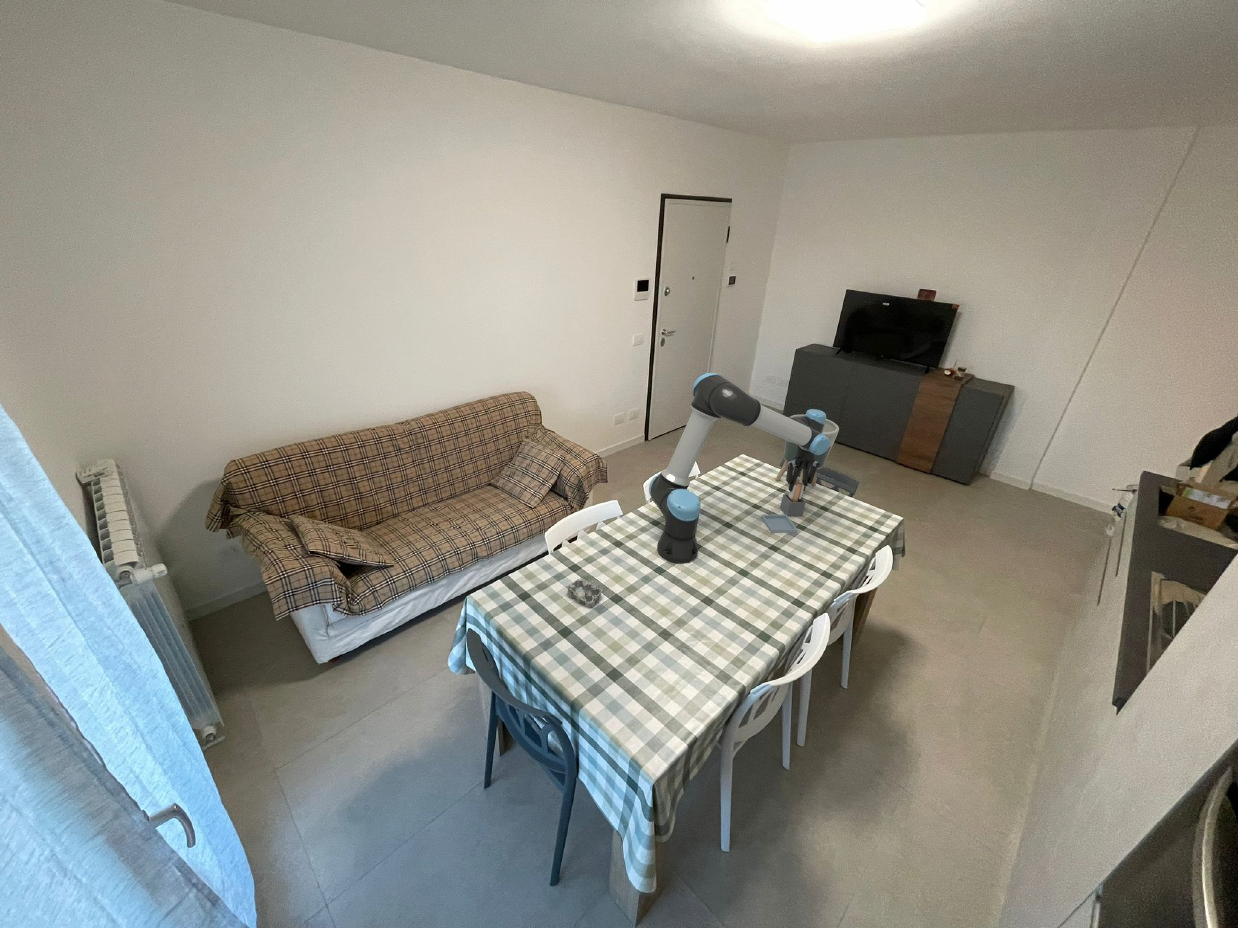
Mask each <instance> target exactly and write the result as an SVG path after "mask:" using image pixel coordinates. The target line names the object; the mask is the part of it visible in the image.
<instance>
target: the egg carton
mask: <svg viewBox="0 0 1238 928" xmlns="http://www.w3.org/2000/svg"><path fill="white" fill-rule="evenodd" d="M579 587H582V591H584V593H583V592H582V591H577V592H576V588H579ZM565 588H567V596H568V598H569V599H576V602H577V603H584V604H585V605H584V606H585V608H590V607H591V608H594V607H595V605H596V602H599V601H601V600H602V593H603V590H604V589H603V588H601V587H598V586H596V585H595V584H593V583H591V582H589V581H588V580H586V579H585V578H582V577H581V578H577V579H576V580H575V581H574V582H572V583H571V585H570V584H569V585H568V586H567V585H566V587H565Z"/></svg>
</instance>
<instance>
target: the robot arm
mask: <svg viewBox="0 0 1238 928" xmlns="http://www.w3.org/2000/svg"><path fill="white" fill-rule="evenodd" d="M691 390H692V391H691V392H692V395H693V399H692V401H691V404H690V408H691V410H692V411H691V414H690V416H689V418H688V421H687V423H686V425H685V427H684V430H683V431H682V432H683V433H682V435H681V436H680V439H679V440H678V443H677V445H676V447H675V450H674V451H673V454H672V457H671V459H670V461H669V464H668V465H667V468H665V469H662V470H661V471H660V472H659V473H658V474H657V475H655V476H653V478H652V479H651V480H650V482H649V485H648V493H649V496H650V498H651V500H652V501H653V503H654V504H655V505H656V507H657V508H658V509H659V511H660V512H661V514H662V515H663V516H664V518H665V519H664V526H663V527H664V529H663V531H662V534H661V536H660V537H659V539H658V541H657V547H656V551H657V553H658V555H659V556H660V557H661V558H663V559H664V560H666V561H668V562H670V563H674V564H687V563H690V562H691V563H692V562H693V561H695V560H696V558H697V557H698V554H699V545H698V540H697V536H696V535H697V530H698V525H699V518H700V513H701V501H700V498H699V496H698V495H697V494H696V493H695V492H693V491H690V490H689V489H688V488H689V487H690V480H689V477H690V474H691V472H692V470H693V468H694V466H695V464H696V461H697V459H698V457H699V455H700V453H701V451H702V449H703V447H704V445H705V443H706V440H707V438H708V436H709V434H710V432H711V430H712V428H713V426H714V423H715V422H716V421H718V420H720V419H721V418H722V419H725V420H727V421H731V422H733V423H736V424H739V425H742V426H744V427H751V426H752V427H754V428H757V429H758V430H761V431H764V432H766V433H769V434H770V435H773V436H774V437H777V438H780V439H782V440H787V441H789V442H792V443H794V444H796V445H799V446H798V448H797V452H796V457H795V458H794V460H792V461H787V463H788V469H787V470H786V471H787V472H786V477H785V482H787V484H788V494H789V495H788V496H789V497H790V498H791V499H793V496H794V492H795V488H796V485H795V483H796V482H797V479H798V478H799V475H800V474H801V470H802V469H803V477H802V482H801V484H802V486H801V490H800V494H799V497H798V498H799V499H801V497H802V498H803V494H804V492H805V491H806V488H807V487H808V486H809V485H811V483H812V481H813V478H814V475H815V473H816V474H817V470H818V469H817V468H818V467H819V465H820V463H819V462H818V461H815V457H816V455H821V454H823V453H825V452H826V451H827V449H828V448H829V445H830V441H829V439H828V438H827V437H826V436H825V435H824V434H822V432H823V428H824V425H825V420H826V419H827V414H826V413H825V411H822V410H820V409H816V408H815V409H814V408H810V409H808V410H806V413H805V415H806V416H802V417H791V416H786V415H784V414H781V413H779V412H777V411H775V410H773V409H770V408H768V407H766V406H764V405H762V403H761V401H759V400H758V399H757V398H754V397H752V396H751V395H749V394H748V393H747V392H745V391H744V390H743V389H741V388H740V387H739V386H738V385H736V384H735V383H733V382H732V381H730V380H728V379H727V378H725V377H724V376H722V375H721V374H718V373H715V372H706V373H704V374H702V375H700V376H699V377H698V378H697V379H696V380H695V381H694V383H693V386H692V389H691ZM794 463H795V464H796V465H795V466H794ZM811 465H812V466H811ZM810 466H811V469H810ZM802 493H803V494H802Z"/></svg>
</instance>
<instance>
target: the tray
mask: <svg viewBox="0 0 1238 928" xmlns="http://www.w3.org/2000/svg"><path fill="white" fill-rule="evenodd" d="M760 519H761V521H762V522H763V523H764V525H765V527H766V528H767V530H768V531H769V533H770V534H791V533H793V534H795V533H798V531H799V529H798V528H797V526H796V525H795V524H794V523H793V521H792V519H790V517H788V516H787V515H785V514H761V516H760Z"/></svg>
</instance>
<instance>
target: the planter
mask: <svg viewBox="0 0 1238 928" xmlns="http://www.w3.org/2000/svg"><path fill="white" fill-rule="evenodd" d="M802 416H806V414H793V415H791V416H790V417H802ZM839 431H840V428H839V425H838V424H837V423H835V422H834V421H832V420H830V419H828V418H826V420H825V425H824V428H823V432H822V434H824V435H825V436H826V437H827V438H828V439H829V441H830V445H829V448H828V449H827V451H826V452H825V453H823V454H821V455H816V457H815V461H818V462H819V463H820V465H819V467H818V468H817V470H819V469H822V468H823V467H824V466H825V464H826V462H827V460H828V457H829V454H830V452H831V450H832V448H833V445H834V444H835V440H836V439H837V436H838V433H839ZM798 446H799V445H796V444H794V443H792V442H789V441H787V440H785V441H784V451H783V459H784V463H783V465H782V467H780V470H779V472H778V473H777V475H776V477H775V479H774V480H775V481H777V482H779V481H780V480H781V478H782V477H783V476H784V474H785V473H786V471H787V470H788V463H787V461H792V460H794V458H795V457H796V452H797V448H798ZM795 465H796V464H795V463H794V466H793V467H795ZM811 466H812V465H811ZM811 466H810V469H811ZM799 475H800V476H799V483H801V482H802V477H803V469H802V470H801V471H800V474H799ZM810 485H811V486H812V487H816V485H817V472H816V473H815V475H814V478H813V481H812V483H811V484H810ZM803 494H804V492H803V493H802V495H803ZM801 498H802V499H803V496H802V497H801Z"/></svg>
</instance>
